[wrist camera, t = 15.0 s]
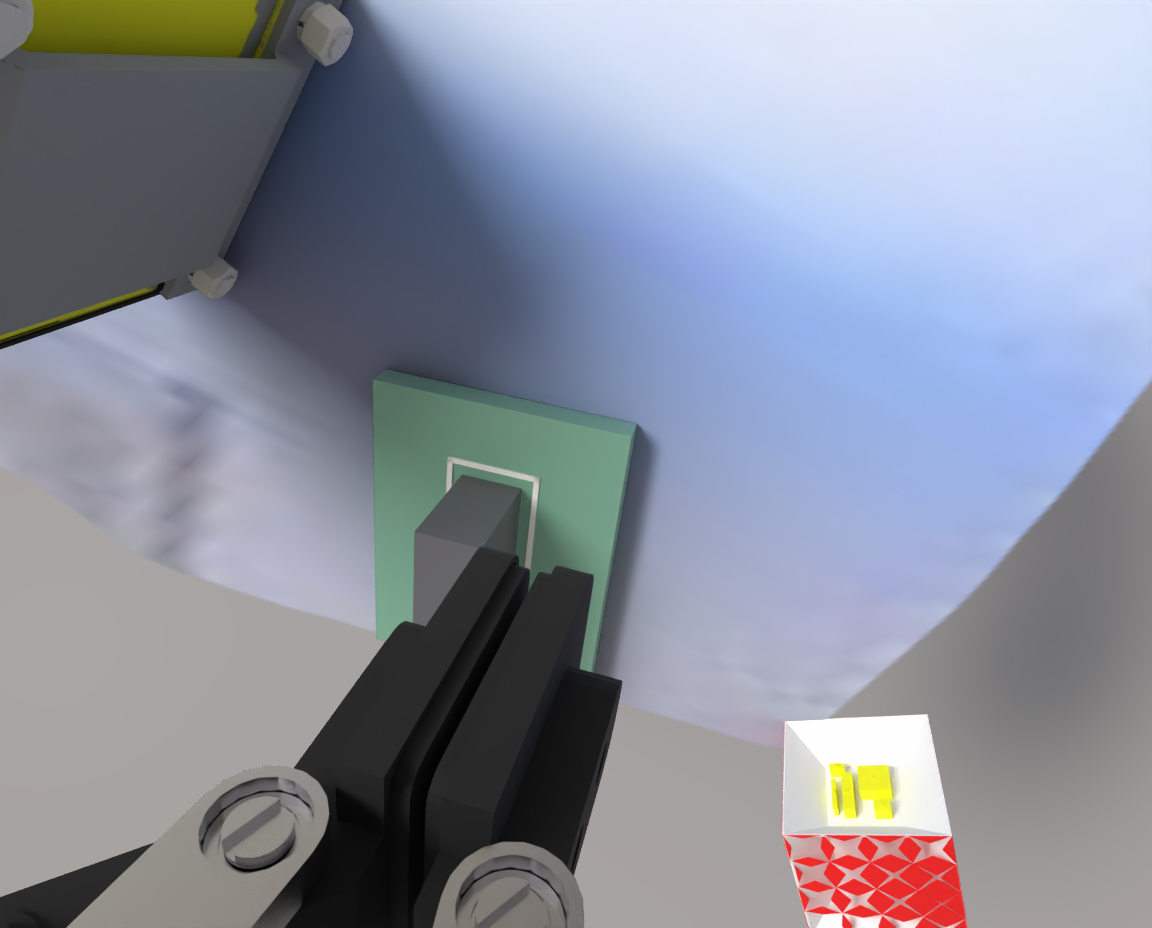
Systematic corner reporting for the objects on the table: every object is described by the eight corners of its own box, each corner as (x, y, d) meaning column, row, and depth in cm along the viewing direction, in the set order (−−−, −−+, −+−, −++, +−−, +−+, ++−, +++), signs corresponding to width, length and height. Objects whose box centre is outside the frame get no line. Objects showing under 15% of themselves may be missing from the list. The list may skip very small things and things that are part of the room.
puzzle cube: (927, 714, 43) (952, 836, 36) (944, 813, 45) (970, 944, 39) (783, 720, 45) (780, 834, 39) (807, 814, 48) (809, 935, 42)
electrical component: (236, 305, 42) (-154, 466, 25) (82, 181, 41) (-436, 260, 24) (383, 8, 33) (-62, -63, 16) (192, -159, 32) (-503, -426, 15)
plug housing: (521, 488, 41) (481, 548, 35) (509, 620, 45) (471, 691, 40) (462, 474, 41) (414, 531, 36) (455, 606, 46) (412, 674, 40)
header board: (637, 423, 39) (618, 465, 35) (592, 680, 48) (573, 737, 44) (386, 369, 41) (341, 402, 37) (387, 623, 50) (350, 672, 46)
